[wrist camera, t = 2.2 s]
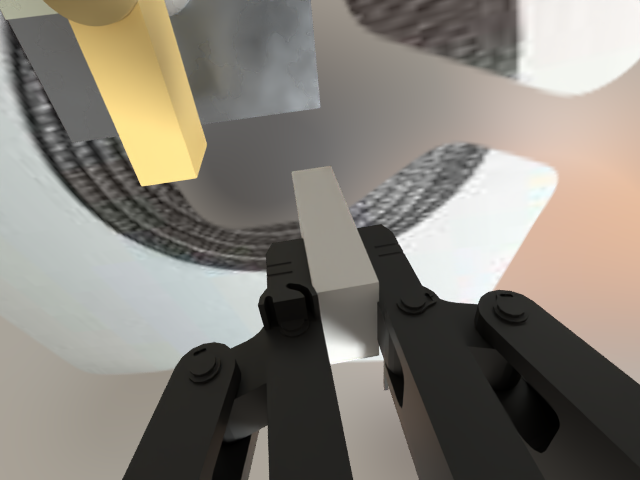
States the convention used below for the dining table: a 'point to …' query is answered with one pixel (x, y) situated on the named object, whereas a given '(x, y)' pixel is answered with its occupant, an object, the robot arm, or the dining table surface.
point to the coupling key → (141, 83)
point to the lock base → (185, 60)
